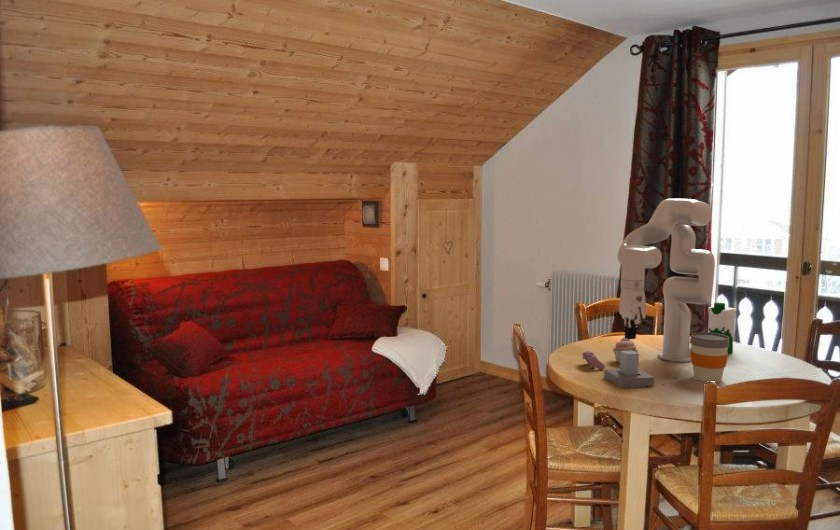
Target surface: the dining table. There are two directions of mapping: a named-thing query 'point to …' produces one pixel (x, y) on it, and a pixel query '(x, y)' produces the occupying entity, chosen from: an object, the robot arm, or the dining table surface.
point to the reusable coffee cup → (709, 355)
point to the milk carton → (722, 322)
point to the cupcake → (623, 347)
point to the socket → (628, 379)
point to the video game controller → (592, 360)
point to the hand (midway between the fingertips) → (630, 338)
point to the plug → (629, 363)
